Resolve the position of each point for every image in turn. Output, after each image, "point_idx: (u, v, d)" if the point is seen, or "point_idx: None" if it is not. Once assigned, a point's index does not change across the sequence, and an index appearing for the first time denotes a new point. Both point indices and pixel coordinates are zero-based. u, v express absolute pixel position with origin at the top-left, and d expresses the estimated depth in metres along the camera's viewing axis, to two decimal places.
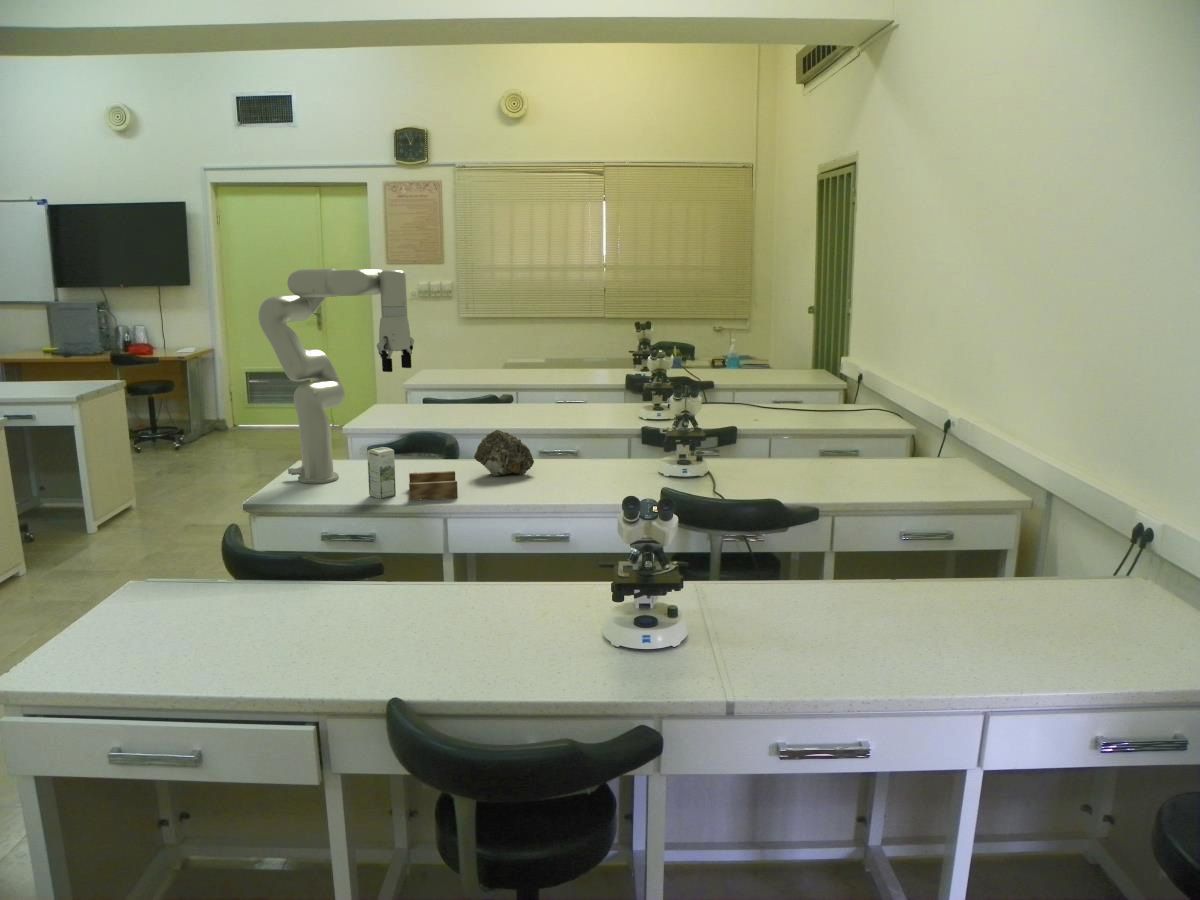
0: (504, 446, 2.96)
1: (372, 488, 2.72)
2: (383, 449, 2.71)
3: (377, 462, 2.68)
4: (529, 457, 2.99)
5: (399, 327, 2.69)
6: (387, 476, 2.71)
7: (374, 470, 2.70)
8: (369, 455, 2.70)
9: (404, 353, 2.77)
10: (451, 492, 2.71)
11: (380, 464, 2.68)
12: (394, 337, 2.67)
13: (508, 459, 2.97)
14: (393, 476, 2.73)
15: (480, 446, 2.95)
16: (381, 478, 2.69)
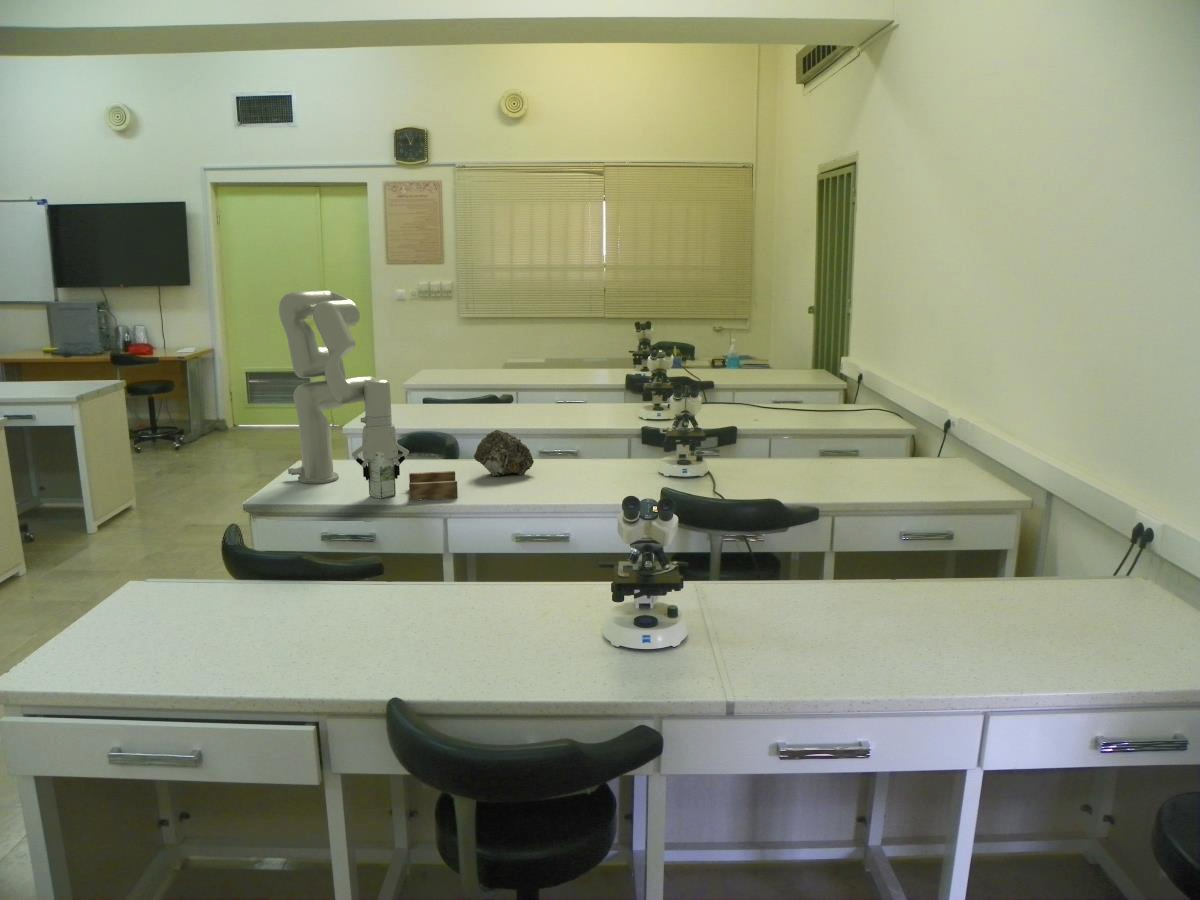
0: (503, 446, 2.96)
1: (372, 488, 2.72)
2: None
3: (376, 462, 2.68)
4: (529, 457, 2.99)
5: None
6: (387, 476, 2.71)
7: (373, 470, 2.70)
8: None
9: (366, 464, 2.71)
10: (451, 492, 2.71)
11: (380, 464, 2.68)
12: None
13: (508, 459, 2.97)
14: (393, 476, 2.73)
15: (480, 446, 2.95)
16: (381, 478, 2.69)
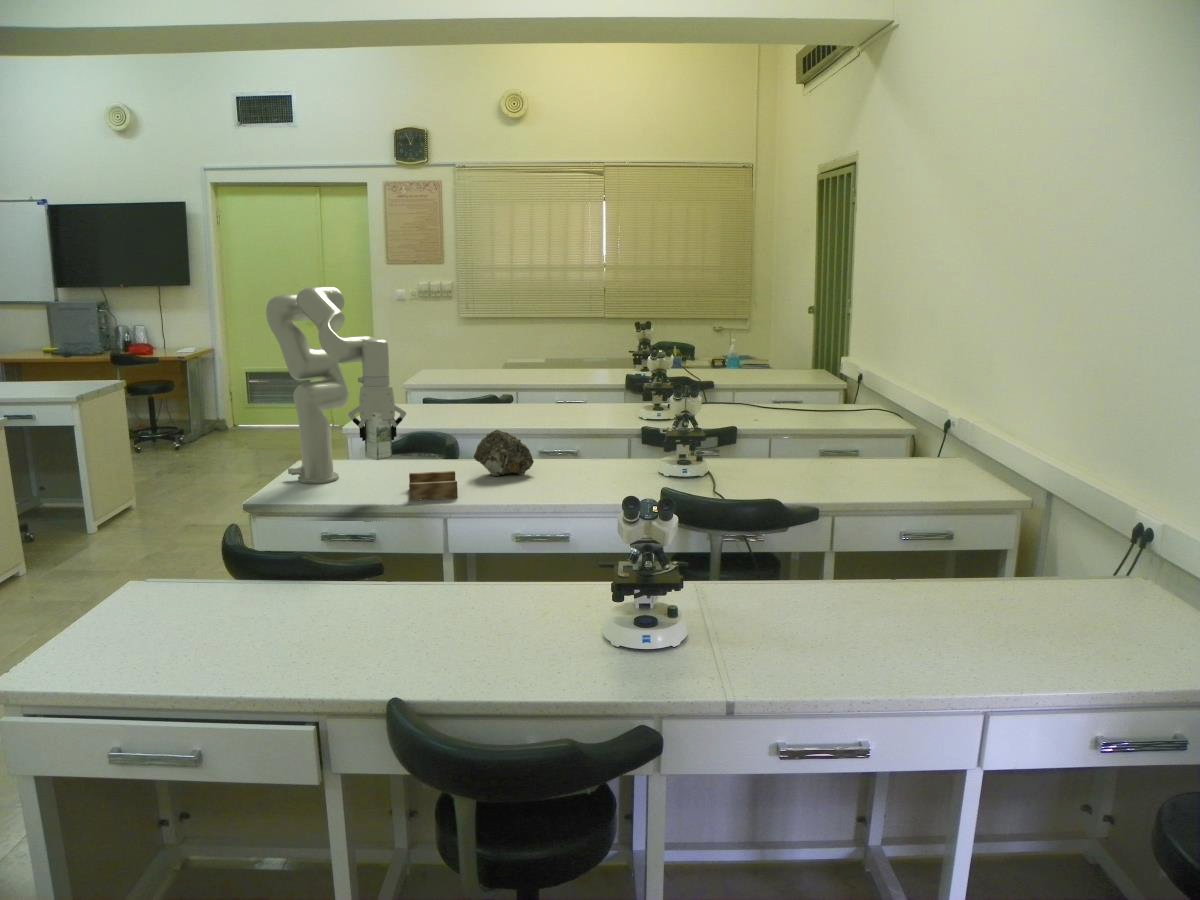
0: (503, 446, 2.96)
1: (368, 449, 2.70)
2: None
3: (373, 423, 2.66)
4: (529, 457, 2.99)
5: None
6: (383, 437, 2.69)
7: (370, 431, 2.68)
8: None
9: (363, 425, 2.68)
10: (451, 492, 2.71)
11: (377, 425, 2.66)
12: None
13: (507, 459, 2.97)
14: (390, 437, 2.70)
15: (479, 446, 2.95)
16: (378, 439, 2.67)
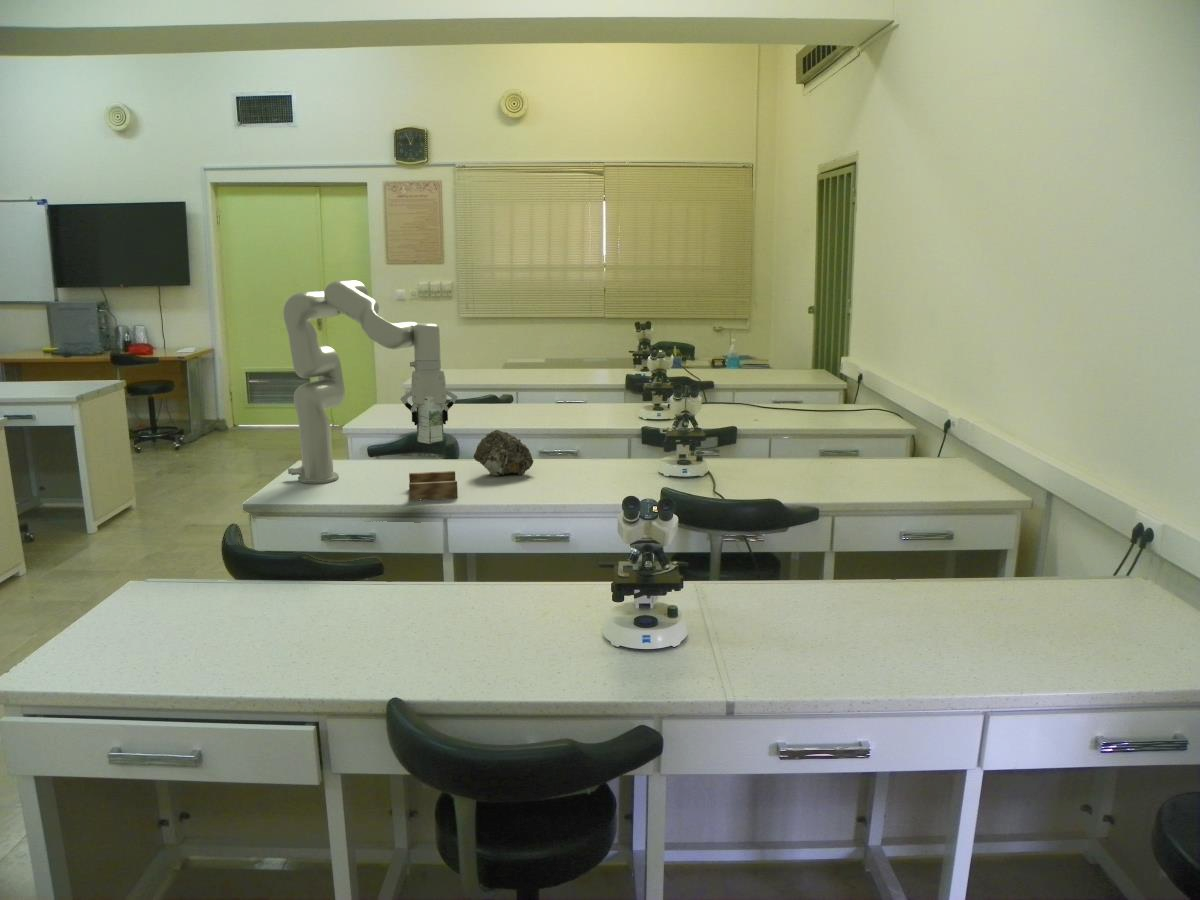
0: (503, 446, 2.96)
1: (420, 433, 2.71)
2: None
3: (425, 406, 2.68)
4: (528, 457, 2.99)
5: None
6: (435, 420, 2.70)
7: (422, 415, 2.69)
8: None
9: (415, 409, 2.70)
10: (451, 492, 2.71)
11: (429, 409, 2.68)
12: None
13: (507, 459, 2.97)
14: (441, 421, 2.72)
15: (479, 446, 2.95)
16: (430, 423, 2.69)
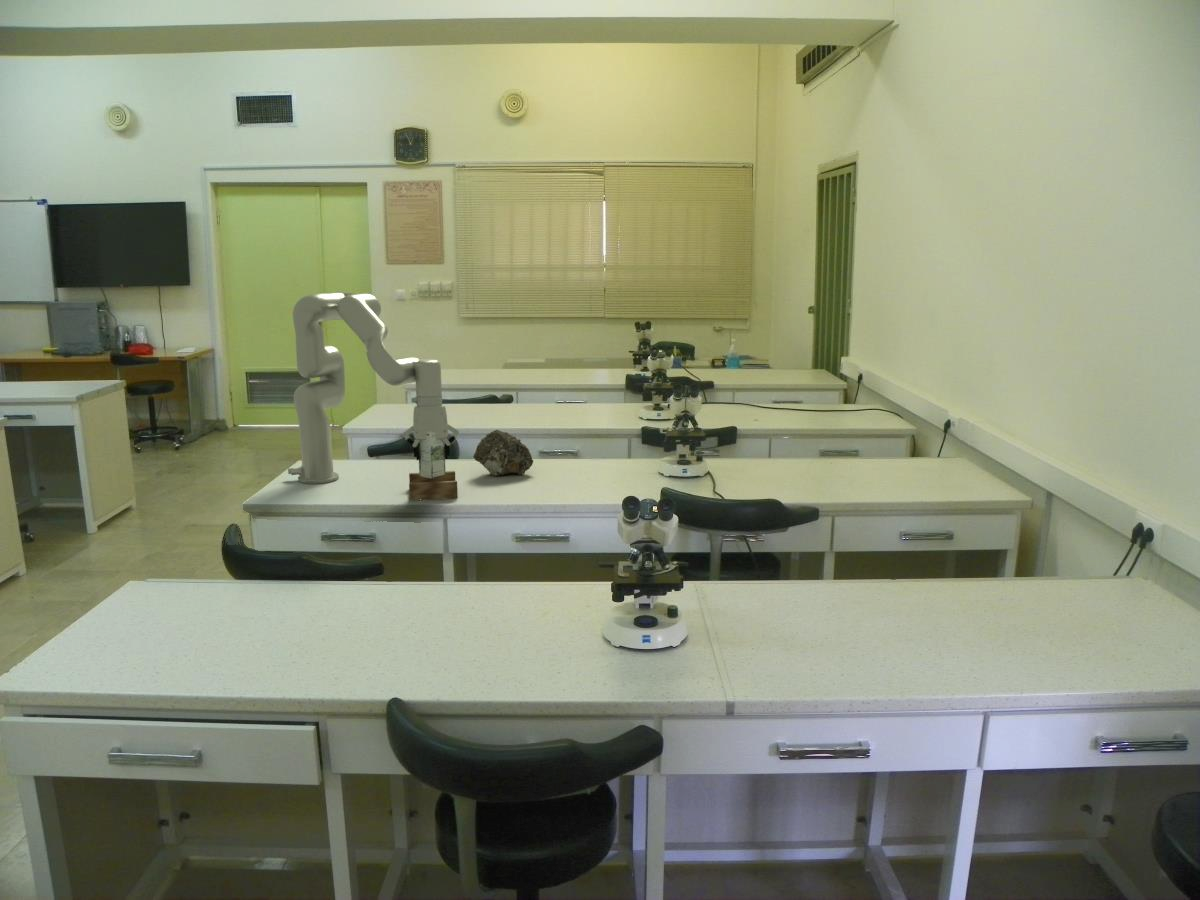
0: (503, 446, 2.96)
1: (422, 468, 2.74)
2: None
3: (427, 442, 2.70)
4: (528, 457, 2.99)
5: None
6: (437, 455, 2.72)
7: (424, 450, 2.72)
8: None
9: (417, 444, 2.72)
10: (451, 492, 2.71)
11: (431, 444, 2.70)
12: None
13: (507, 459, 2.97)
14: (443, 456, 2.74)
15: (479, 446, 2.95)
16: (432, 458, 2.71)
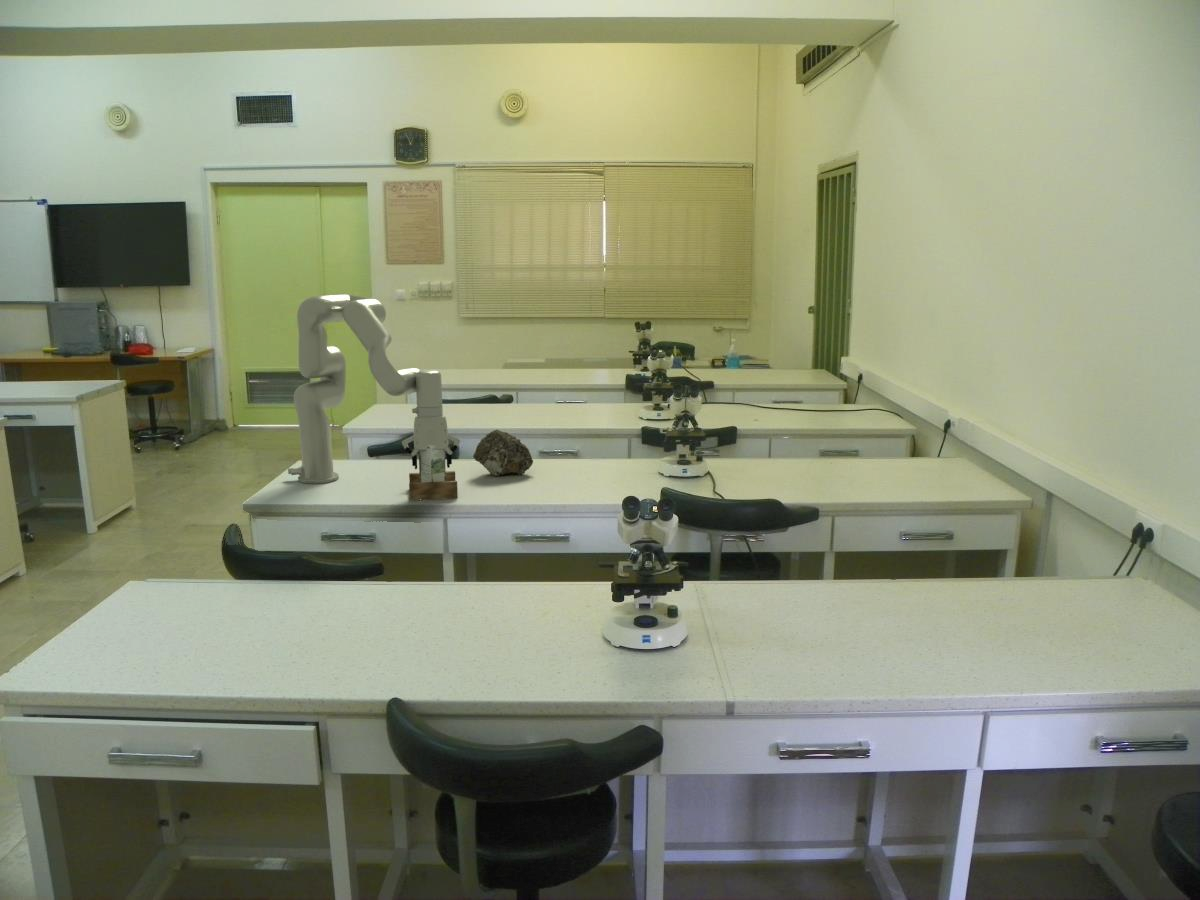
0: (503, 446, 2.96)
1: (423, 480, 2.75)
2: None
3: (428, 455, 2.71)
4: (528, 457, 2.99)
5: None
6: (438, 468, 2.73)
7: (425, 462, 2.73)
8: None
9: (415, 454, 2.73)
10: (451, 492, 2.71)
11: (431, 457, 2.71)
12: None
13: (507, 459, 2.97)
14: (444, 469, 2.75)
15: (479, 446, 2.95)
16: (432, 470, 2.72)
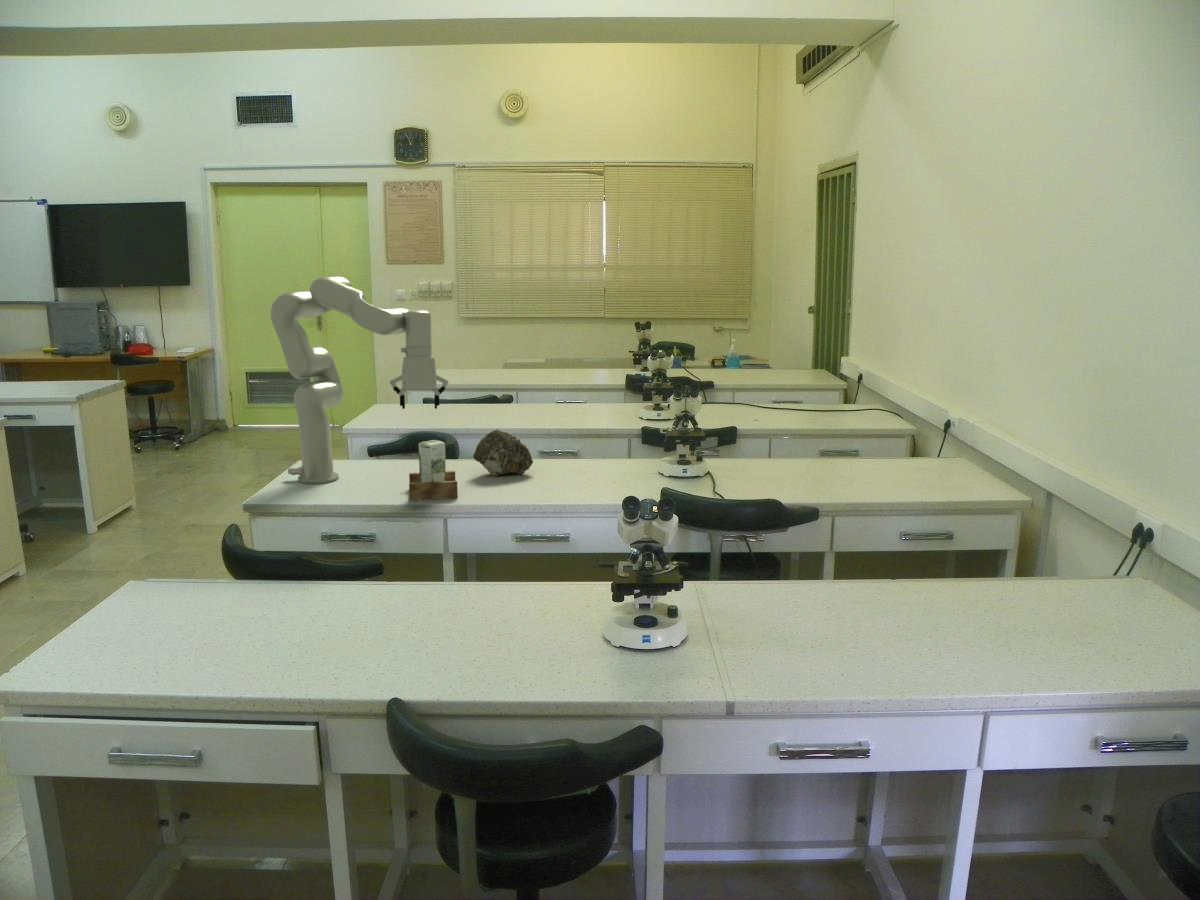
0: (503, 446, 2.96)
1: (423, 480, 2.75)
2: (434, 442, 2.73)
3: (428, 455, 2.71)
4: (528, 457, 2.99)
5: None
6: (438, 468, 2.73)
7: (425, 462, 2.73)
8: (420, 448, 2.73)
9: (403, 394, 2.74)
10: (451, 492, 2.71)
11: (432, 457, 2.71)
12: None
13: (507, 459, 2.97)
14: (444, 469, 2.75)
15: (479, 446, 2.95)
16: (432, 470, 2.72)
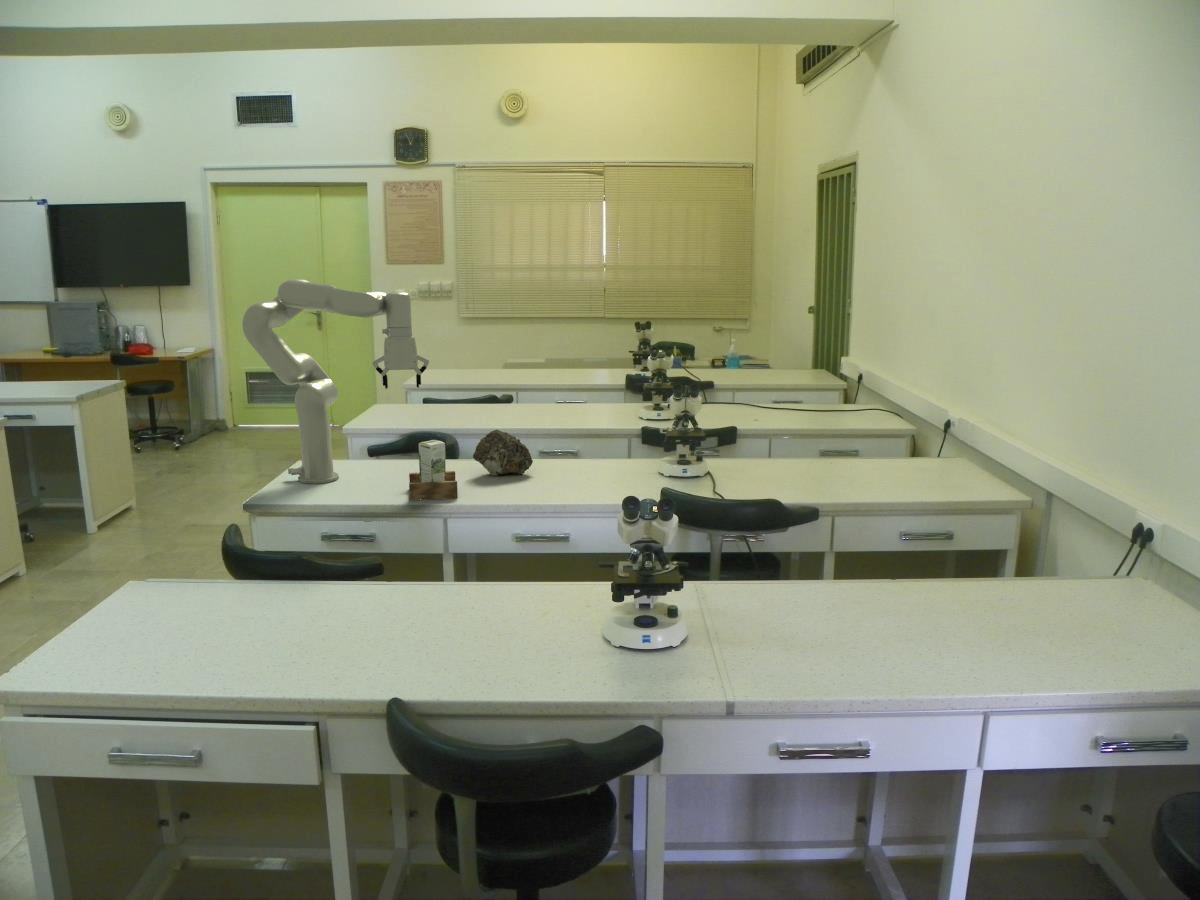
0: (502, 446, 2.96)
1: (423, 480, 2.75)
2: (434, 442, 2.73)
3: (428, 455, 2.71)
4: (528, 457, 2.99)
5: None
6: (438, 468, 2.73)
7: (425, 462, 2.73)
8: (420, 448, 2.73)
9: None
10: (451, 492, 2.71)
11: (432, 457, 2.71)
12: None
13: (507, 459, 2.97)
14: (444, 469, 2.75)
15: (479, 445, 2.96)
16: (432, 470, 2.72)
